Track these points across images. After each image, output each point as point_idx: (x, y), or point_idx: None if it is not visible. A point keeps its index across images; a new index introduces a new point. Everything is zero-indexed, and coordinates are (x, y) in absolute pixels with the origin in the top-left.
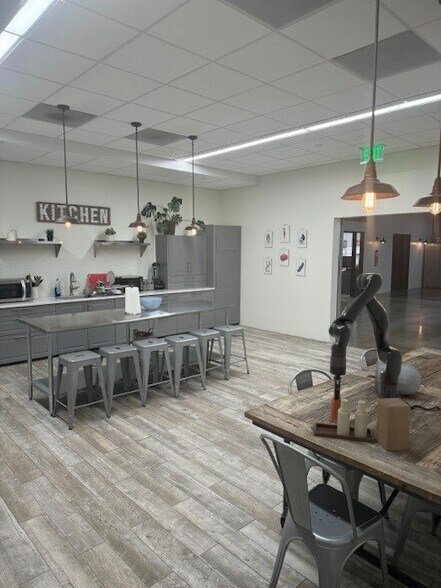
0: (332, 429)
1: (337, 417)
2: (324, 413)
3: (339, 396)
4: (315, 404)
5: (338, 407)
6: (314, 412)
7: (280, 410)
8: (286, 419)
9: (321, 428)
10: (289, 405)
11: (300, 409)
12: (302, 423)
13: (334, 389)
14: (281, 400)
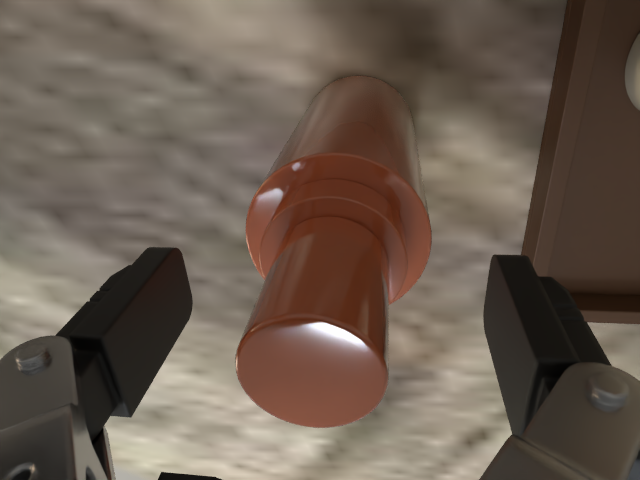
0: (589, 166)
1: (415, 138)
2: (219, 229)
3: (363, 245)
4: (74, 292)
5: (421, 177)
6: (234, 299)
7: (294, 474)
8: (426, 450)
9: (574, 257)
10: (190, 435)
11: (224, 381)
12: (471, 372)
13: (311, 420)
14: (136, 468)
